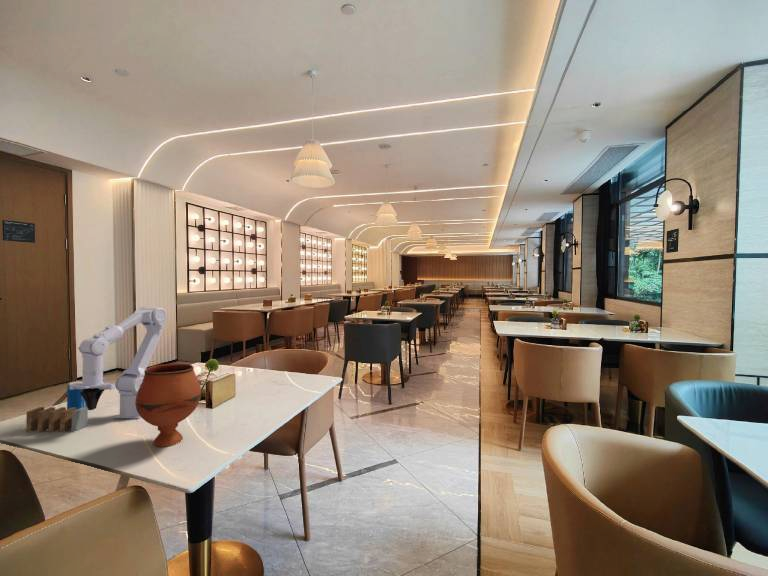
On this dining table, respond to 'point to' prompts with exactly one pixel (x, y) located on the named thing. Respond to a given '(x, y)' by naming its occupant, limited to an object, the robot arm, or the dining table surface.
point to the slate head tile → (79, 419)
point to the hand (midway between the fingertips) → (92, 409)
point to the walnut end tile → (32, 419)
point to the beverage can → (75, 398)
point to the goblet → (168, 399)
